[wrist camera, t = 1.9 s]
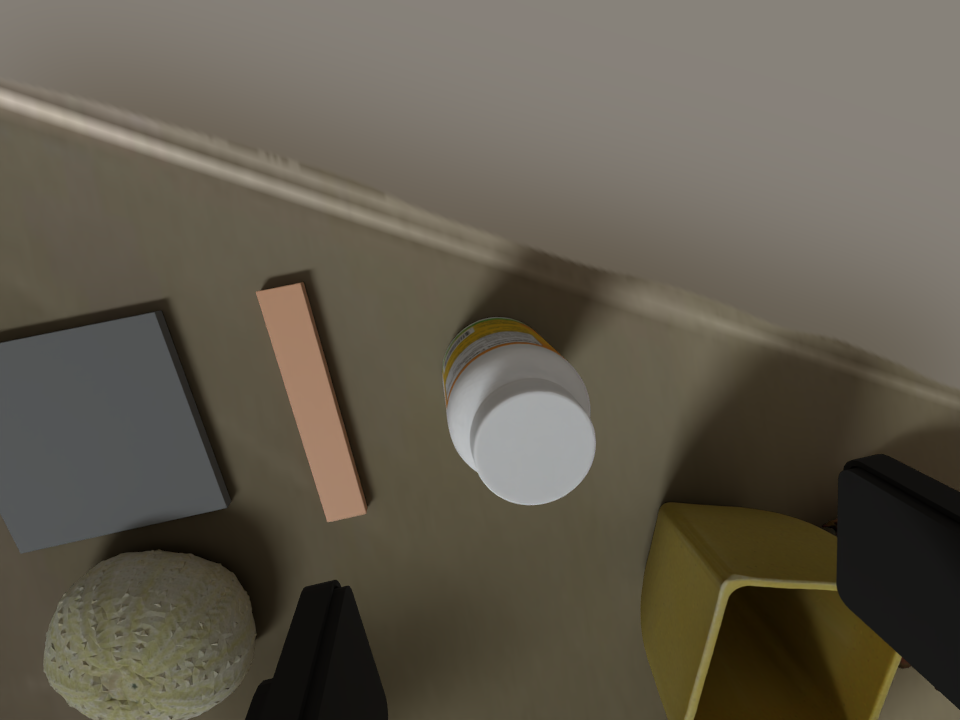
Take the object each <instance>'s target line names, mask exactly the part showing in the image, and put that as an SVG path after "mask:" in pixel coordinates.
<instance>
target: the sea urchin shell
mask: <svg viewBox="0 0 960 720" xmlns="http://www.w3.org/2000/svg"><path fill="white" fill-rule="evenodd" d="M249 598H250V596H248V595H247V591H244V589H243V587H242V586H241V584H240V582H239V581H238V579H237V577H236V576H235V574H234V572H230V571H229V570H228V569H226V568H225V567H223V566H222V565H221V563H215V562H212V561H208V560H206V559H203V558H201V557H198V556H194V555H193V554H184V553H174V552H168V551H162V550H160V549H159V550H156V551H155V550H152V551H144V552H126V553H121V554H119V555H117V556H115V557H112V558H109V559H107V560H105V561H104V560H102V561H101V562H100V563H99V564H97V565H96V566H94V567H93V568H92V569H90V570H89V571H88V572H87V573H86V574H85V575H83V576H82V577H81V579H80V580H79V581H78V582H76V583H75V584H73V585H72V586H71V587H70V589H69V590H68V591H67V592H65V593H64V595H63V597H62V599H61V600H60V601H59V603H58V606H57V610H56V612H55V614H54V616H53V617H52V620H51V623H50V624H49V631H48V632H47V633H46V637H47V639H46V642H45V644H46V647H45V652H44V662H43V664H44V672H45V673H46V676H47V678H48V679H49V680H48V682H49V683H50V686H52V687H53V688H54V690H55V691H56V692H58V693H59V694H61V695H62V696H63V697H64V699H65V700H66V701H67V704H69V707H75V708H76V709H77V710H79V711H80V712H81V713H83V714H84V715H85V716H87V717H88V718H92V719H93V720H186V719H190V718H192V717H196V716H199V715H200V714H202V713H203V712H205V711H209V709H210V708H212V707H213V706H215V705H216V704H218V703H220V702H221V701H223V700H224V699H225V698H226V697H228V696H229V695H230V694H231V693H232V692H235V690H236V688H237V687H239V686H240V683H241V682H242V680H243V678H244V677H245V675H246V673H247V672H248V671H249V667H250V666H251V665H252V663H251V661H252V660H253V659H254V656H253V655H254V650H255V637H256V635H257V633H256V628H255V622H254V618H253V615H252V607H251V601H250V600H249Z"/></svg>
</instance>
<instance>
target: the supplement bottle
mask: <svg viewBox="0 0 960 720" xmlns="http://www.w3.org/2000/svg"><path fill="white" fill-rule="evenodd" d="M442 373H443V386H444V394H445V402H446V411H447V421H448V427H449V431H450V435H451V438H452V441H453V444H454V446H455V448H456V450H457V451H458V453H459V455H460V456H461V457H462V459H463V460H464V461H465V462H466V463H467V464H468V465H469V466H470V467H471V468H472V469H474V470H475V471H476V472H478V474H479V476H480V478H481V479H482V481H483V482H484V484H485V485H486V486H487V487H488V488H489V489H490V490H491V491H492V492H493V493H495V494H496V495H497V496H499V497H501V498H503V499H505V500H507V501H510V502H513V503H517V504H522V505H539V504H545V503H548V502H552V501H555V500H557V499H559V498H561V497H563V496H565V495H566V494H568V493H569V492H571V491H572V490H573V489H574V488H575V487H576V486H578V485H579V483H580V482H581V481H582V480H583V479H584V477H585V476H586V474H587V473H588V471H589V469H590V467H591V465H592V462H593V459H594V455H595V448H596V437H595V430H594V427H593V424H592V422H591V419H590V413H591V409H590V400H589V395H588V392H587V389H586V386H585V384H584V382H583V380H582V378H581V377H580V375H579V374H578V373H577V371H576V370H575V369H574V368H573V366H572V365H571V364H570V363H569V362H568V361H567V360H566V359H565V358H564V357H562V356H561V355H560V354H559V353H558V352H557V351H556V350H555V349H554V348H553V347H552V346H551V345H549V344H548V343H547V342H546V341H545V340H544V339H543V338H542V337H541V336H540V335H539V334H538V333H536V332H535V331H534V330H533V329H532V328H530V327H529V326H527V325H526V324H524V323H522V322H520V321H517V320H514V319H510V318H504V317H491V318H485V319H482V320H479V321H476V322H474V323H472V324H470V325H469V326H467V327H466V328H464V329H463V330H462V331H461V332H460V333H458V334H457V336H456V337H455V338H454V339H453V340H452V342H451V343H450V345H449V347H448V349H447V351H446V354H445V357H444V361H443V370H442Z"/></svg>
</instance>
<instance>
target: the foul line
mask: <svg viewBox="0 0 960 720" xmlns="http://www.w3.org/2000/svg"><path fill="white" fill-rule="evenodd" d="M256 294H257V297H258V300H259V304H260V307H261V310H262V313H263V317H264V320H265V323H266V326H267V329H268V333H269V336H270V339H271V342H272V345H273V349H274V352H275V355H276V358H277V362H278V365H279V368H280V371H281V374H282V378H283V381H284V384H285V387H286V390H287V394H288V397H289V400H290V403H291V406H292V410H293V413H294V416H295V419H296V423H297V426H298V429H299V432H300V435H301V439H302V442H303V445H304V448H305V451H306V455H307V458H308V461H309V464H310V468H311V471H312V474H313V477H314V480H315V484H316V487H317V490H318V493H319V496H320V500H321V503H322V506H323V509H324V513H325V516H326V519H327V522H331V521H336V520H340V519H345V518H349V517H354V516H358V515H363V514H366V512H367V508H368V507H367V504H366V500H365V497H364V493H363V490H362V486H361V483H360V479H359V476H358V472H357V469H356V465H355V462H354V458H353V454H352V451H351V447H350V444H349V440H348V437H347V433H346V430H345V426H344V423H343V419H342V416H341V412H340V409H339V405H338V402H337V398H336V395H335V391H334V388H333V384H332V381H331V377H330V373H329V370H328V366H327V363H326V359H325V356H324V352H323V349H322V345H321V342H320V338H319V335H318V331H317V328H316V324H315V321H314V317H313V314H312V310H311V307H310V303H309V299H308V296H307V292H306V289H305V285H304V282H300V283H295V284H290V285H285V286H280V287H275V288H270V289H265V290H260V291H258V292H256Z"/></svg>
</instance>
